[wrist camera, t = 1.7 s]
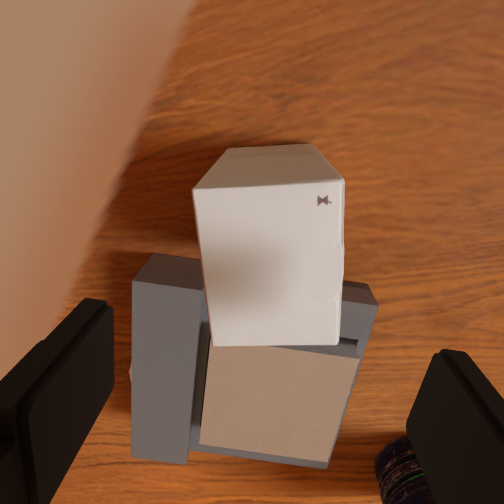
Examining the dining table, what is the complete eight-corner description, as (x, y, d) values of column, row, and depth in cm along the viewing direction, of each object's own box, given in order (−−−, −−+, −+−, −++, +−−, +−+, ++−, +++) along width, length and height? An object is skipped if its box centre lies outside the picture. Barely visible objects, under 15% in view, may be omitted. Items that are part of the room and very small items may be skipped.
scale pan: (216, 315, 29) (210, 337, 26) (351, 334, 29) (359, 359, 26) (205, 415, 33) (199, 444, 30) (322, 432, 33) (327, 462, 31)
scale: (147, 252, 30) (125, 279, 25) (367, 284, 30) (384, 317, 25) (143, 412, 37) (125, 456, 32) (321, 437, 37) (329, 485, 32)
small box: (226, 147, 26) (187, 184, 14) (313, 141, 26) (349, 175, 14) (235, 249, 29) (210, 350, 17) (313, 246, 29) (343, 347, 17)
